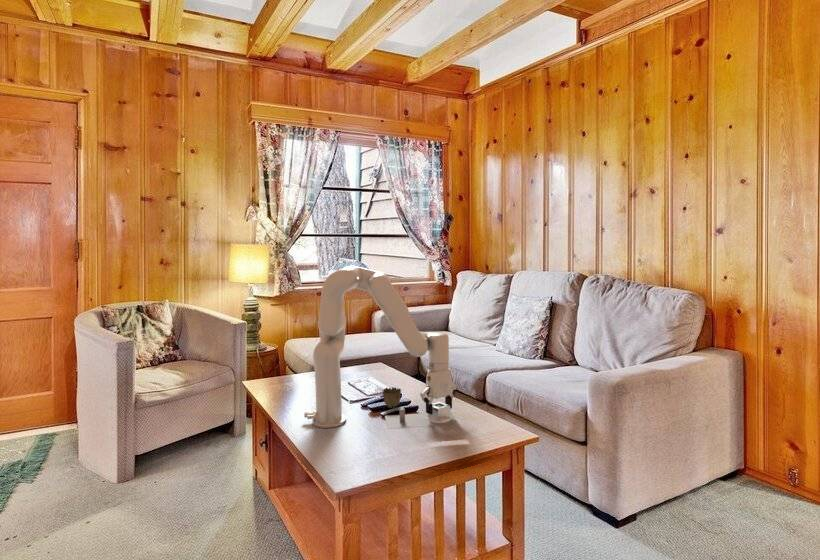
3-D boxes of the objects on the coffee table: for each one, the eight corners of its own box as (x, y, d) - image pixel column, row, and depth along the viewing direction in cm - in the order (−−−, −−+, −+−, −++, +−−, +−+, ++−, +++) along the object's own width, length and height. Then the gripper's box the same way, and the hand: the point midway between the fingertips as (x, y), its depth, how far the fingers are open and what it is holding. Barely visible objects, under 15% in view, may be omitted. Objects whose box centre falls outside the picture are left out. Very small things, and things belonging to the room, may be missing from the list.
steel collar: (438, 422, 187) (438, 409, 187) (427, 417, 192) (427, 404, 192) (450, 418, 191) (450, 405, 191) (439, 414, 196) (439, 401, 195)
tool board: (388, 432, 182) (387, 415, 182) (384, 418, 195) (384, 403, 195) (458, 427, 186) (458, 411, 186) (450, 414, 199) (450, 399, 198)
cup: (398, 412, 202) (398, 393, 201) (380, 411, 203) (380, 392, 203) (402, 406, 209) (402, 387, 208) (385, 405, 211) (385, 386, 210)
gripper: (427, 372, 181) (428, 418, 183) (462, 364, 192) (462, 408, 194) (414, 368, 187) (414, 413, 189) (449, 360, 198) (449, 403, 200)
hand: (439, 410), depth 191 cm, fingers open, 9 cm apart
